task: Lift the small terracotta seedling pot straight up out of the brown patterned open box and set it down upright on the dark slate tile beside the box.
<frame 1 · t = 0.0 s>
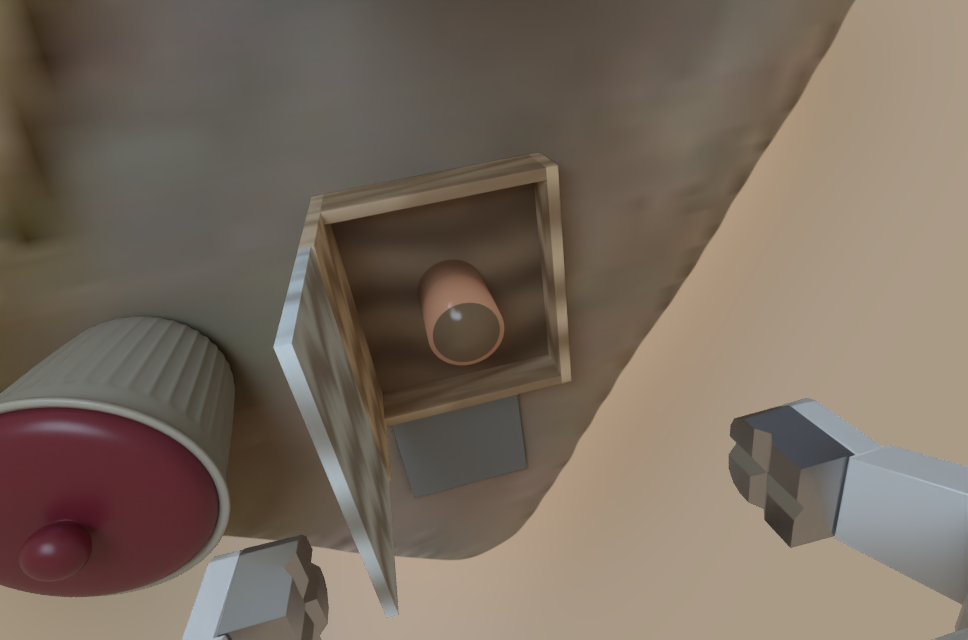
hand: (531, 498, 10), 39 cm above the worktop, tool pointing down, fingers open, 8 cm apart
canister: (160, 368, 49), on the worktop
slate tile: (462, 441, 61), on the worktop
terracotta pot: (451, 290, 50), point 1 cm above the worktop, touching brown patterned open box
brown patterned open box: (449, 286, 51), on the worktop
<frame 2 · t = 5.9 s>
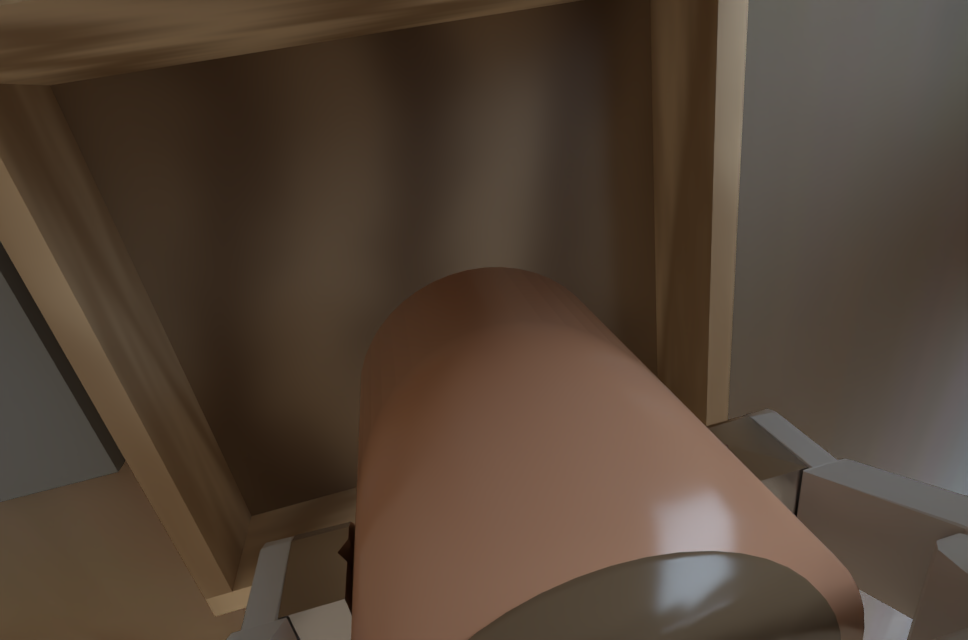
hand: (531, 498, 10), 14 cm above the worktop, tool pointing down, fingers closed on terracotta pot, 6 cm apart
terracotta pot: (487, 386, 13), point 10 cm above the worktop, touching gripper
brown patterned open box: (424, 275, 22), on the worktop
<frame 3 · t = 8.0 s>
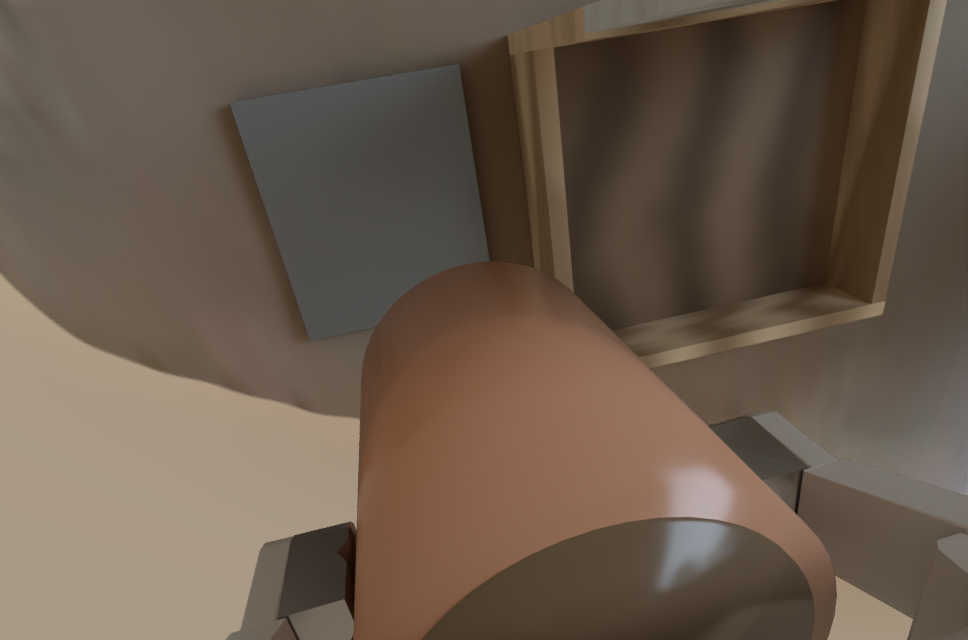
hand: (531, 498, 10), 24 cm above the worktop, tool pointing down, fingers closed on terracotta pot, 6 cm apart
slate tile: (378, 210, 31), on the worktop
terracotta pot: (485, 377, 14), point 20 cm above the worktop, touching gripper
brown patterned open box: (691, 181, 34), on the worktop
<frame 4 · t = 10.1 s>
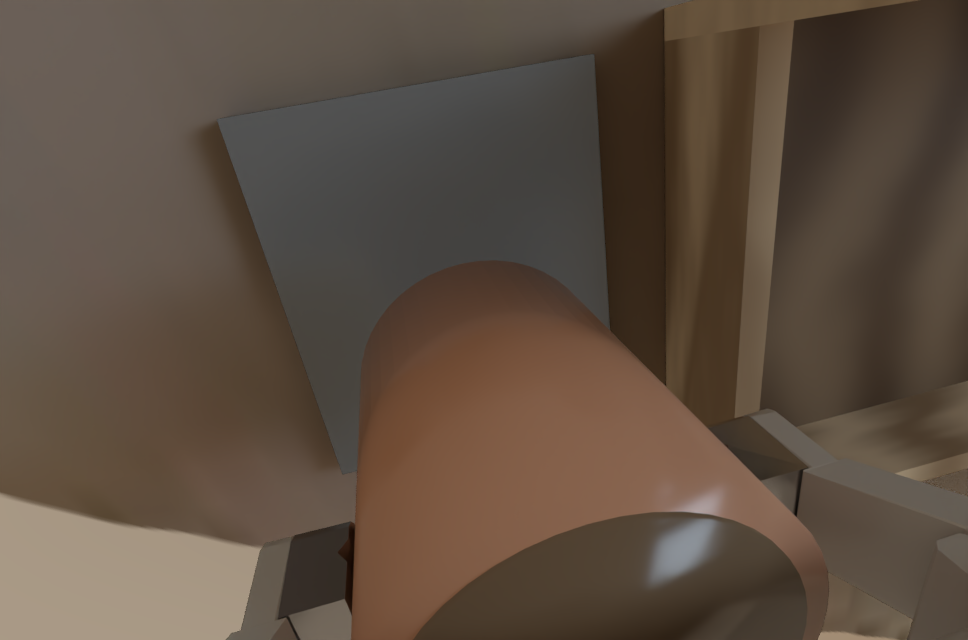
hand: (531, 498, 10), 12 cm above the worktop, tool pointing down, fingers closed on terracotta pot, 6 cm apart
slate tile: (449, 280, 20), on the worktop
terracotta pot: (483, 375, 14), point 7 cm above the worktop, touching gripper
brown patterned open box: (894, 227, 23), on the worktop
when the fingers open (6 cm above the worktop, at t = 12.0 s): terracotta pot stays where it is, resting on slate tile.
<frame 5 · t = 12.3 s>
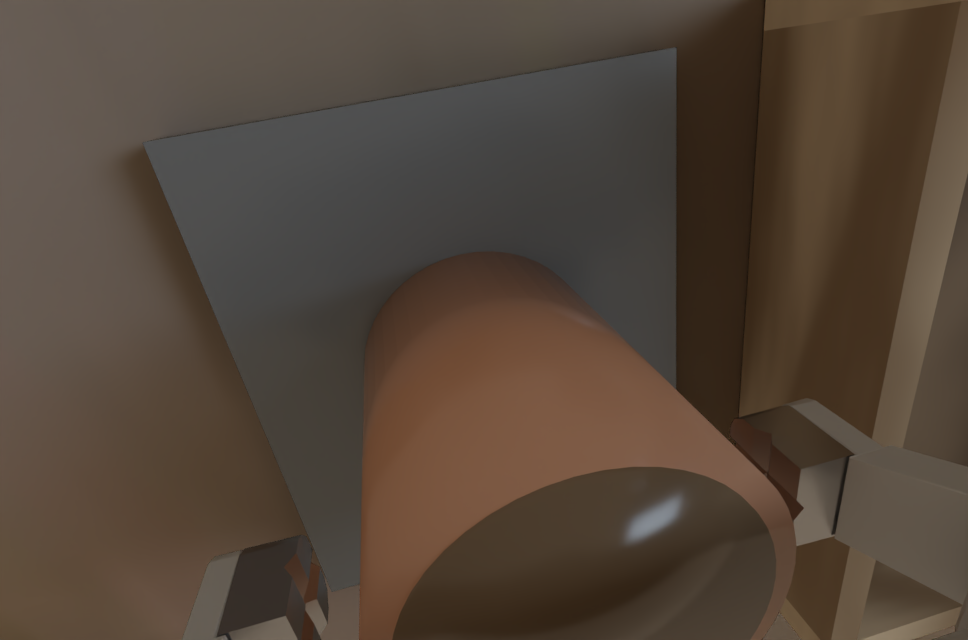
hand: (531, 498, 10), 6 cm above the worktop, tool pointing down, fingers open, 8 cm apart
slate tile: (470, 347, 15), on the worktop
terracotta pot: (481, 362, 15), point 1 cm above the worktop, touching slate tile
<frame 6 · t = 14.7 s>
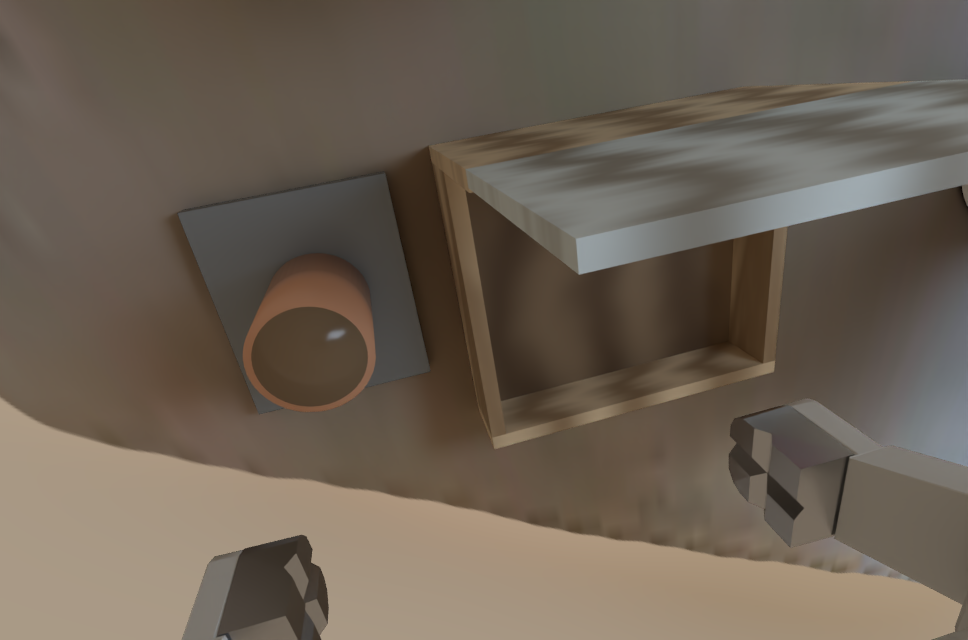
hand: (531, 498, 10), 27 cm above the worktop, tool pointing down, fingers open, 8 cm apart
slate tile: (319, 296, 34), on the worktop
terracotta pot: (320, 301, 34), point 1 cm above the worktop, touching slate tile
brown patterned open box: (602, 259, 38), on the worktop
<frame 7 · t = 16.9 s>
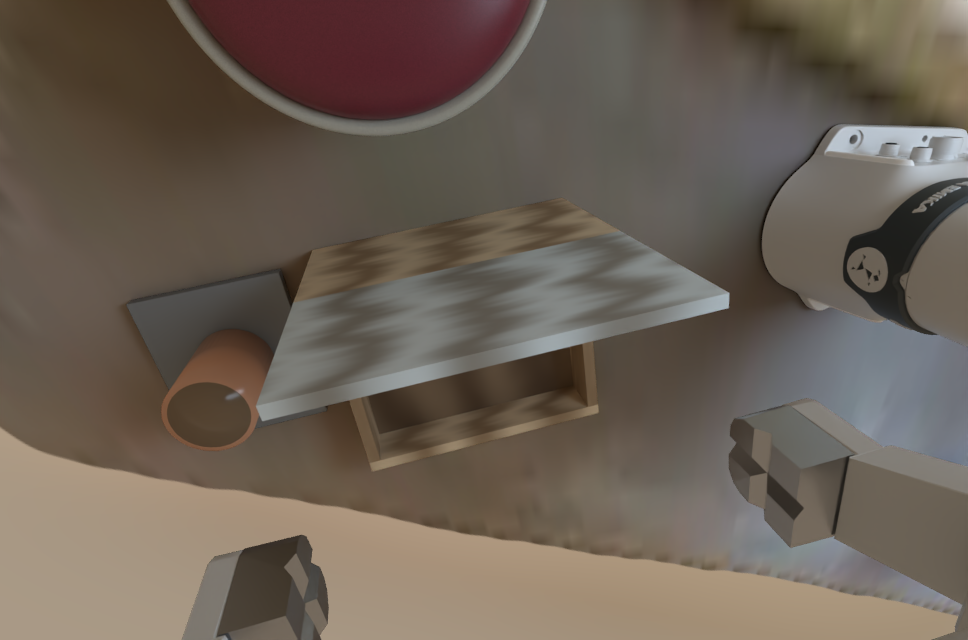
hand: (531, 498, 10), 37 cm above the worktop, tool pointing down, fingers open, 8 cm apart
slate tile: (237, 356, 46), on the worktop
terracotta pot: (236, 362, 45), point 1 cm above the worktop, touching slate tile
brown patterned open box: (461, 325, 49), on the worktop
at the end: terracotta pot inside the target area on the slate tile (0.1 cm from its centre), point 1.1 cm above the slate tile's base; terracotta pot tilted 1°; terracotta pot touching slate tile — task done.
